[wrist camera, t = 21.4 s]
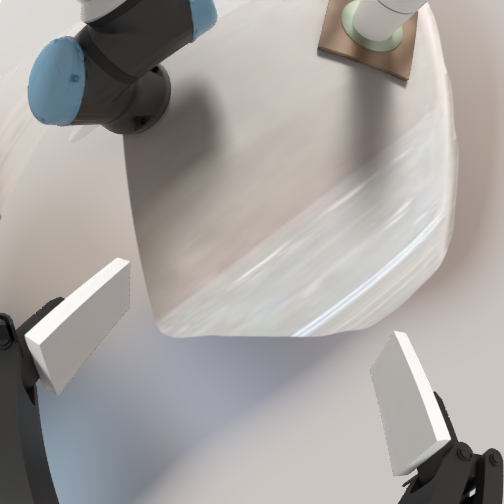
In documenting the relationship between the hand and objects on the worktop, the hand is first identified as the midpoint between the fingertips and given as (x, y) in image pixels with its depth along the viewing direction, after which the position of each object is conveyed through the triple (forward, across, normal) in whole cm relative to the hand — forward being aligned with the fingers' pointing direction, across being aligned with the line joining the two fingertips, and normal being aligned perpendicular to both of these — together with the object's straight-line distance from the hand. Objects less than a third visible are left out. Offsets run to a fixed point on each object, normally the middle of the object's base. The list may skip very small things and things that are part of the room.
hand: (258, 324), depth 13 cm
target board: (+37, +8, +34) cm, 51 cm away
